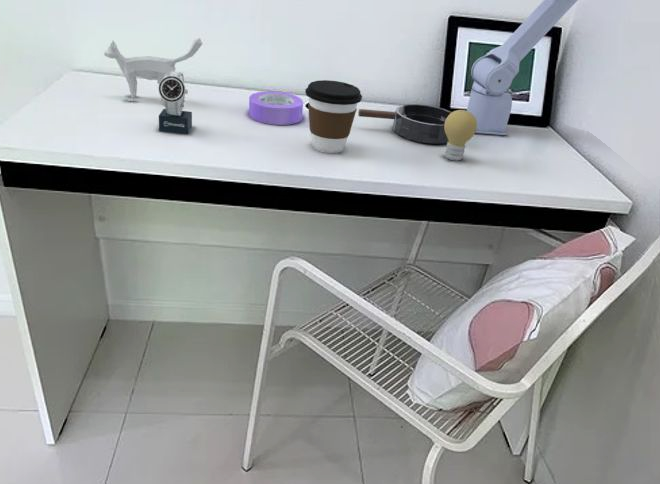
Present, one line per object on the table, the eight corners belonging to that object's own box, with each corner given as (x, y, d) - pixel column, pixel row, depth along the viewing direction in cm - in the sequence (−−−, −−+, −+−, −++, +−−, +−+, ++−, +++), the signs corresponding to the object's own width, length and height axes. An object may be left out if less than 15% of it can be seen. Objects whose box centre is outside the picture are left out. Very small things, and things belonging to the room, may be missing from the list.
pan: (446, 125, 149) (450, 107, 146) (463, 147, 137) (467, 127, 135) (387, 121, 147) (390, 101, 144) (399, 142, 135) (402, 122, 132)
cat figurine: (109, 93, 139) (104, 26, 132) (203, 101, 142) (203, 35, 135) (105, 100, 135) (100, 30, 128) (201, 107, 139) (202, 40, 131)
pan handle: (393, 118, 140) (394, 110, 139) (394, 120, 138) (396, 113, 138) (357, 115, 138) (358, 107, 138) (358, 117, 137) (359, 110, 136)
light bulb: (461, 167, 127) (472, 118, 122) (432, 157, 129) (442, 109, 124) (473, 159, 132) (484, 111, 126) (445, 150, 134) (455, 103, 129)
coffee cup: (328, 134, 134) (335, 77, 127) (366, 152, 128) (374, 92, 121) (289, 143, 127) (294, 82, 120) (326, 161, 121) (333, 99, 114)
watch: (156, 134, 122) (154, 76, 116) (166, 121, 129) (164, 65, 123) (186, 137, 122) (185, 80, 117) (194, 124, 129) (193, 69, 123)
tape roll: (261, 126, 133) (262, 108, 131) (240, 108, 141) (241, 91, 139) (310, 123, 138) (312, 106, 136) (288, 106, 147) (289, 90, 145)
